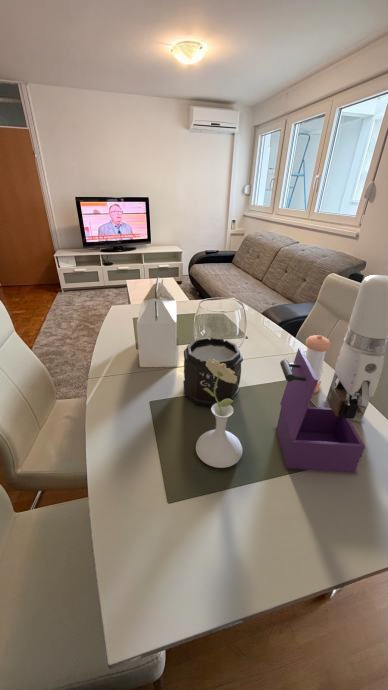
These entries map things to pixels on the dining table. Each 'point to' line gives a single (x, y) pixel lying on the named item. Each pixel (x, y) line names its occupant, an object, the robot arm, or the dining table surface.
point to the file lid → (297, 391)
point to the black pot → (203, 378)
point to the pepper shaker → (317, 355)
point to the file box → (321, 442)
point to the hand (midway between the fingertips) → (341, 408)
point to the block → (338, 400)
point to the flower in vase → (219, 426)
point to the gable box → (157, 328)
